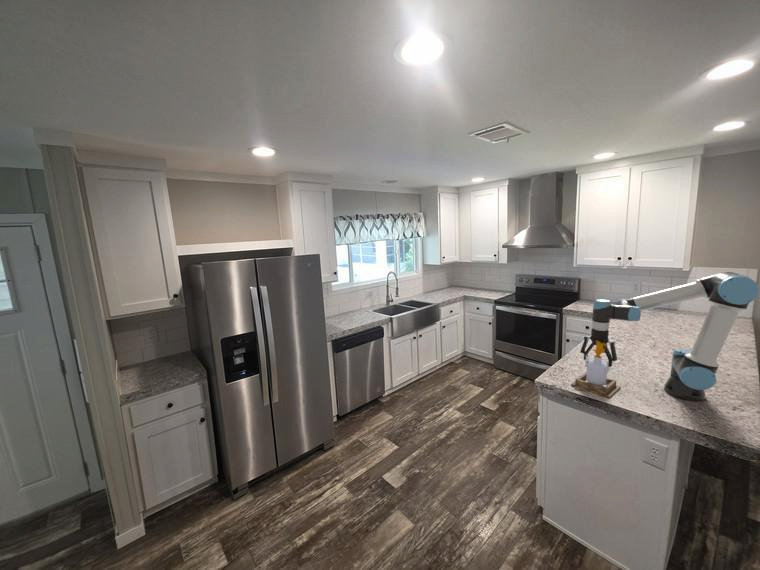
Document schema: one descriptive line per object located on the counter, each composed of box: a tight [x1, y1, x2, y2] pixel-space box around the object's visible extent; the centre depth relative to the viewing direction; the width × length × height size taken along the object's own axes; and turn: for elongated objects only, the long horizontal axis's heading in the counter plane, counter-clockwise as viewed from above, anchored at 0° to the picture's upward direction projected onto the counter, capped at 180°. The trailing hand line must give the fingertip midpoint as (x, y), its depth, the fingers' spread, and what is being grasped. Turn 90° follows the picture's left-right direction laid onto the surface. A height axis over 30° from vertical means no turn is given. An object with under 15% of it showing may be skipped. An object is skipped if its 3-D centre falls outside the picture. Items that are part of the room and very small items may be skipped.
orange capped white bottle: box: [586, 340, 608, 385], centre depth 168 cm, size 9×9×25 cm
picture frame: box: [570, 371, 621, 399], centre depth 171 cm, size 18×16×4 cm
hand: (597, 368), depth 169 cm, fingers closed on orange capped white bottle, 9 cm apart
